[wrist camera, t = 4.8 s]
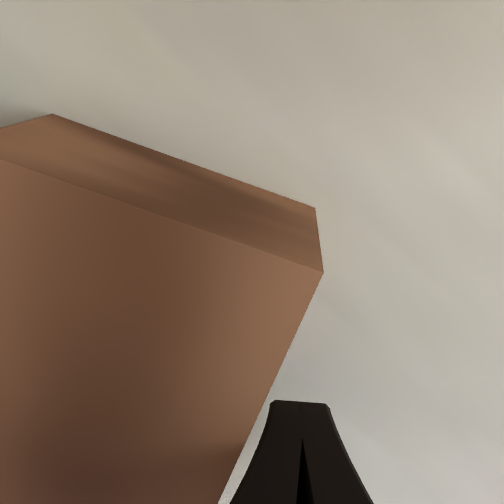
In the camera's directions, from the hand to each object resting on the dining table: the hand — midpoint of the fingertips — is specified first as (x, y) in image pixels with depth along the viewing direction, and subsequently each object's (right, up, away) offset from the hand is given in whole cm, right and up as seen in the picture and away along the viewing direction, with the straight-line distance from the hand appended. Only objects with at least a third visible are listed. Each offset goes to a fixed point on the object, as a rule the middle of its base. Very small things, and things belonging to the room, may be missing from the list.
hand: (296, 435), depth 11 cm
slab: (-4, +2, +2) cm, 5 cm away
